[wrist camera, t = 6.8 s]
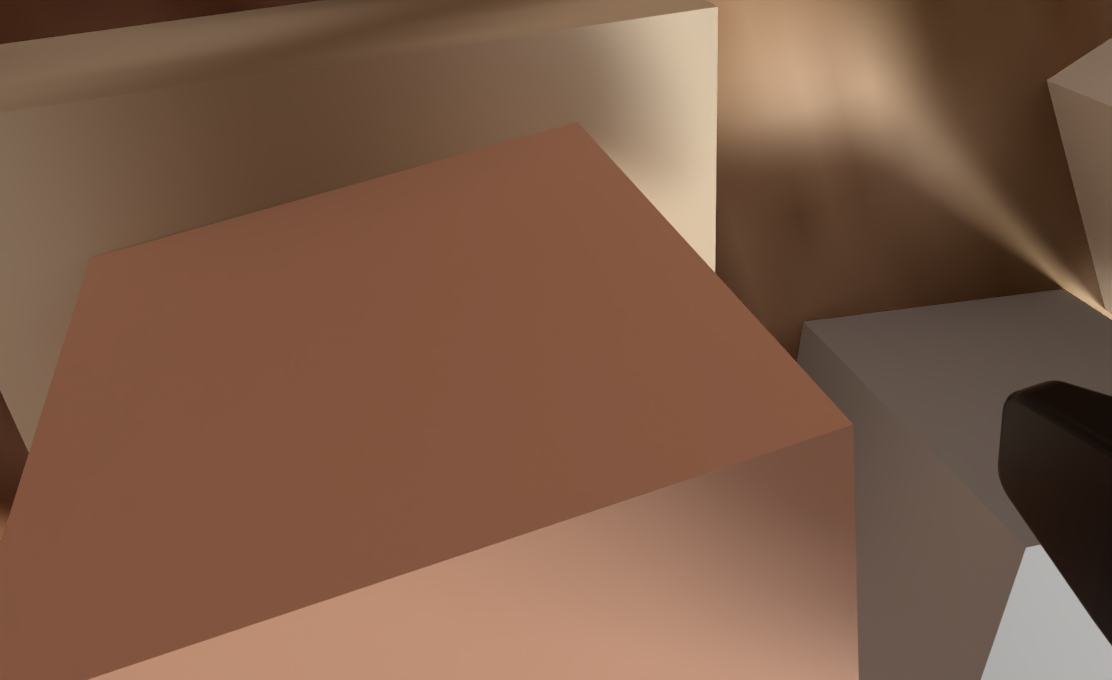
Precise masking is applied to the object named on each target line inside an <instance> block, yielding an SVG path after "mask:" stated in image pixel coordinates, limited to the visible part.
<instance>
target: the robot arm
mask: <svg viewBox="0 0 1112 680" xmlns="http://www.w3.org/2000/svg"><path fill="white" fill-rule="evenodd" d="M998 474H999V479H1000V482H1001V485H1002V487H1003V489H1004V491H1005V493H1006V495H1007V496H1008V498H1009V500H1010V501H1011V502H1012V504H1013V505H1014V507H1015V508H1016V510H1017V511H1018V513H1019V514H1020V515H1021V517H1022V518H1023V520H1024V521H1025V523H1026V524H1027V526H1028V527H1029V529H1030V530H1031V531H1032V533H1033V534H1034V536H1035V537H1036V539H1037V540H1038V542H1039V543H1040V545H1041V546H1042V547H1043V549H1044V550H1045V552H1046V553H1047V555H1048V556H1049V558H1050V559H1051V560H1052V562H1053V563H1054V565H1055V566H1056V568H1057V569H1058V571H1059V572H1060V574H1061V575H1062V576H1063V578H1064V579H1065V581H1066V582H1067V584H1068V585H1069V587H1070V588H1071V589H1072V591H1073V592H1074V594H1075V595H1076V597H1077V598H1078V600H1079V601H1080V603H1081V604H1082V605H1083V607H1084V608H1085V610H1086V611H1087V613H1088V614H1089V616H1090V617H1091V619H1092V620H1093V621H1094V623H1095V624H1096V625H1097V627H1098V628H1099V629H1100V631H1101V632H1102V634H1103V635H1104V636H1105V638H1106V639H1107V640H1108V642H1109V643H1110V644H1111V646H1112V396H1110V395H1107V394H1104V393H1100V392H1097V391H1094V390H1090V389H1087V388H1084V387H1080V386H1077V385H1074V384H1070V383H1067V382H1063V381H1059V380H1051V381H1045V382H1042V383H1039V384H1036V385H1033V386H1030V387H1027V388H1024V389H1021V390H1018V391H1015V392H1013V393H1011V394H1010V395H1009V396H1008V397H1007V399H1006V401H1005V402H1004V405H1003V411H1002V422H1001V433H1000V443H999V454H998Z"/></svg>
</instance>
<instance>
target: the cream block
mask: <svg viewBox="0 0 1112 680" xmlns="http://www.w3.org/2000/svg"><path fill="white" fill-rule="evenodd" d="M1047 84H1048V88H1049V92H1050V96H1051V100H1052V104H1053V108H1054V111H1055V115H1056V119H1057V123H1058V127H1059V131H1060V135H1061V139H1062V143H1063V147H1064V150H1065V154H1066V158H1067V162H1068V166H1069V170H1070V174H1071V178H1072V182H1073V186H1074V190H1075V193H1076V197H1077V201H1078V205H1079V209H1080V213H1081V217H1082V221H1083V225H1084V229H1085V232H1086V236H1087V240H1088V244H1089V248H1090V252H1091V256H1092V260H1093V264H1094V268H1095V272H1096V275H1097V279H1098V283H1099V287H1100V291H1101V295H1102V299H1103V303H1104V307H1105V310H1107V311H1108V312H1110V313H1111V314H1112V38H1110V39H1109V40H1107V41H1106V42H1104V43H1103V44H1101V45H1100V46H1098V47H1097V48H1095V49H1094V50H1092V51H1091V52H1089V53H1087V54H1086V55H1084V56H1083V57H1081V58H1080V59H1078V60H1077V61H1075V62H1074V63H1072V64H1071V65H1069V66H1068V67H1066V68H1065V69H1063V70H1061V71H1060V72H1058V73H1057V74H1055V75H1054V76H1052V77H1051V78H1049V79H1048V80H1047Z"/></svg>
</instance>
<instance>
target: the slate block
mask: <svg viewBox="0 0 1112 680" xmlns="http://www.w3.org/2000/svg"><path fill="white" fill-rule="evenodd" d="M797 363H798V364H799V365H800V367H801V368H802V369H803V370H804V371H805V372H806V373H807V374H808V375H809V376H810V378H811V379H812V380H813V381H814V382H815V383H816V384H817V385H818V386H819V387H820V388H821V390H822V391H823V392H824V393H825V394H826V395H827V396H828V397H829V398H830V399H831V401H832V402H833V403H834V404H835V405H836V406H837V407H838V408H839V409H840V410H841V412H842V413H843V414H844V415H845V416H846V417H847V418H848V419H849V420H850V421H851V423H852V424H853V434H854V480H855V526H856V573H857V619H858V665H859V680H1112V646H1111V644H1110V643H1109V642H1108V640H1107V639H1106V638H1105V636H1104V635H1103V634H1102V632H1101V631H1100V629H1099V628H1098V627H1097V625H1096V624H1095V623H1094V621H1093V620H1092V619H1091V617H1090V616H1089V614H1088V613H1087V611H1086V610H1085V608H1084V607H1083V605H1082V604H1081V603H1080V601H1079V600H1078V598H1077V597H1076V595H1075V594H1074V592H1073V591H1072V589H1071V588H1070V587H1069V585H1068V584H1067V582H1066V581H1065V579H1064V578H1063V576H1062V575H1061V574H1060V572H1059V571H1058V569H1057V568H1056V566H1055V565H1054V563H1053V562H1052V560H1051V559H1050V558H1049V556H1048V555H1047V553H1046V552H1045V550H1044V549H1043V547H1042V546H1041V545H1040V543H1039V542H1038V540H1037V539H1036V537H1035V536H1034V534H1033V533H1032V531H1031V530H1030V529H1029V527H1028V526H1027V524H1026V523H1025V521H1024V520H1023V518H1022V517H1021V515H1020V514H1019V513H1018V511H1017V510H1016V508H1015V507H1014V505H1013V504H1012V502H1011V501H1010V500H1009V498H1008V496H1007V495H1006V493H1005V491H1004V489H1003V487H1002V485H1001V482H1000V479H999V474H998V454H999V443H1000V433H1001V422H1002V411H1003V405H1004V402H1005V401H1006V399H1007V397H1008V396H1009V395H1010V394H1011V393H1013V392H1015V391H1018V390H1021V389H1024V388H1027V387H1030V386H1033V385H1036V384H1039V383H1042V382H1045V381H1051V380H1059V381H1063V382H1067V383H1070V384H1074V385H1077V386H1080V387H1084V388H1087V389H1090V390H1094V391H1097V392H1100V393H1104V394H1107V395H1110V396H1112V320H1111V319H1109V318H1108V317H1106V316H1105V315H1103V314H1102V313H1100V312H1098V311H1097V310H1095V309H1094V308H1092V307H1091V306H1089V305H1088V304H1086V303H1085V302H1083V301H1082V300H1080V299H1079V298H1077V297H1075V296H1074V295H1072V294H1071V293H1069V292H1068V291H1066V290H1065V289H1059V290H1051V291H1043V292H1035V293H1027V294H1019V295H1011V296H1003V297H995V298H987V299H979V300H971V301H963V302H955V303H947V304H939V305H931V306H923V307H915V308H907V309H899V310H891V311H883V312H875V313H867V314H859V315H851V316H844V317H836V318H828V319H820V320H812V321H804V322H803V327H802V333H801V339H800V345H799V351H798V357H797Z"/></svg>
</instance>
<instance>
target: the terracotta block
mask: <svg viewBox="0 0 1112 680" xmlns="http://www.w3.org/2000/svg"><path fill="white" fill-rule="evenodd" d="M0 680H859V665H858V619H857V573H856V526H855V480H854V434H853V424H852V423H851V421H850V420H849V419H848V418H847V417H846V416H845V415H844V414H843V413H842V412H841V410H840V409H839V408H838V407H837V406H836V405H835V404H834V403H833V402H832V401H831V399H830V398H829V397H828V396H827V395H826V394H825V393H824V392H823V391H822V390H821V388H820V387H819V386H818V385H817V384H816V383H815V382H814V381H813V380H812V379H811V378H810V376H809V375H808V374H807V373H806V372H805V371H804V370H803V369H802V368H801V367H800V365H799V364H798V363H797V362H796V361H795V360H794V359H793V358H792V357H791V356H790V354H789V353H788V352H787V351H786V350H785V349H784V348H783V347H782V346H781V345H780V343H779V342H778V341H777V340H776V339H775V338H774V337H773V336H772V335H771V334H770V333H769V331H768V330H767V329H766V328H765V327H764V326H763V325H762V324H761V323H760V322H759V320H758V319H757V318H756V317H755V316H754V315H753V314H752V313H751V312H750V311H749V309H748V308H747V307H746V306H745V305H744V304H743V303H742V302H741V301H740V300H739V298H738V297H737V296H736V295H735V294H734V293H733V292H732V291H731V290H730V289H729V288H728V286H727V285H726V284H725V283H724V282H723V281H722V280H721V279H720V278H719V277H718V275H717V274H716V273H715V272H714V271H713V270H712V269H711V268H710V267H709V266H708V264H707V263H706V262H705V261H704V260H703V259H702V258H701V257H700V256H699V255H698V253H697V252H696V251H695V250H694V249H693V248H692V247H691V246H690V245H689V244H688V243H687V241H686V240H685V239H684V238H683V237H682V236H681V235H680V234H679V233H678V232H677V230H676V229H675V228H674V227H673V226H672V225H671V224H670V223H669V222H668V221H667V219H666V218H665V217H664V216H663V215H662V214H661V213H660V212H659V211H658V210H657V208H656V207H655V206H654V205H653V204H652V203H651V202H650V201H649V200H648V199H647V197H646V196H645V195H644V194H643V193H642V192H641V191H640V190H639V189H638V188H637V187H636V185H635V184H634V183H633V182H632V181H631V180H630V179H629V178H628V177H627V176H626V174H625V173H624V172H623V171H622V170H621V169H620V168H619V167H618V166H617V165H616V163H615V162H614V161H613V160H612V159H611V158H610V157H609V156H608V155H607V154H606V152H605V151H604V150H603V149H602V148H601V147H600V146H599V145H598V144H597V143H596V142H595V140H594V139H593V138H592V137H591V136H590V135H589V134H588V133H587V132H586V131H585V129H584V128H583V127H582V126H581V125H580V124H579V123H578V122H575V123H571V124H568V125H564V126H561V127H557V128H553V129H550V130H546V131H543V132H539V133H535V134H532V135H528V136H525V137H521V138H518V139H514V140H510V141H507V142H503V143H500V144H496V145H492V146H489V147H485V148H482V149H478V150H474V151H471V152H467V153H464V154H460V155H457V156H453V157H449V158H446V159H442V160H439V161H435V162H432V163H428V164H424V165H421V166H417V167H414V168H410V169H407V170H403V171H399V172H396V173H392V174H389V175H385V176H382V177H378V178H374V179H371V180H367V181H364V182H360V183H357V184H353V185H349V186H346V187H342V188H339V189H335V190H332V191H328V192H324V193H321V194H317V195H314V196H310V197H307V198H303V199H299V200H296V201H292V202H289V203H285V204H282V205H278V206H274V207H271V208H267V209H264V210H260V211H257V212H253V213H249V214H246V215H242V216H239V217H235V218H232V219H228V220H224V221H221V222H217V223H214V224H210V225H207V226H203V227H199V228H196V229H192V230H189V231H185V232H182V233H178V234H174V235H171V236H167V237H164V238H160V239H157V240H153V241H149V242H146V243H142V244H139V245H135V246H132V247H128V248H124V249H121V250H117V251H114V252H110V253H107V254H103V255H99V256H96V257H92V258H90V260H89V263H88V266H87V269H86V273H85V276H84V279H83V282H82V285H81V289H80V292H79V295H78V298H77V301H76V304H75V308H74V311H73V314H72V317H71V320H70V324H69V327H68V330H67V333H66V336H65V339H64V343H63V346H62V349H61V352H60V355H59V359H58V362H57V365H56V368H55V371H54V374H53V378H52V381H51V384H50V387H49V390H48V394H47V397H46V400H45V403H44V406H43V409H42V413H41V416H40V419H39V422H38V425H37V429H36V432H35V435H34V438H33V441H32V445H31V448H30V451H29V454H28V457H27V460H26V464H25V467H24V470H23V473H22V476H21V480H20V483H19V486H18V489H17V492H16V495H15V499H14V502H13V505H12V508H11V511H10V515H9V518H8V521H7V524H6V527H5V530H4V534H3V537H2V540H1V543H0Z"/></svg>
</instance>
